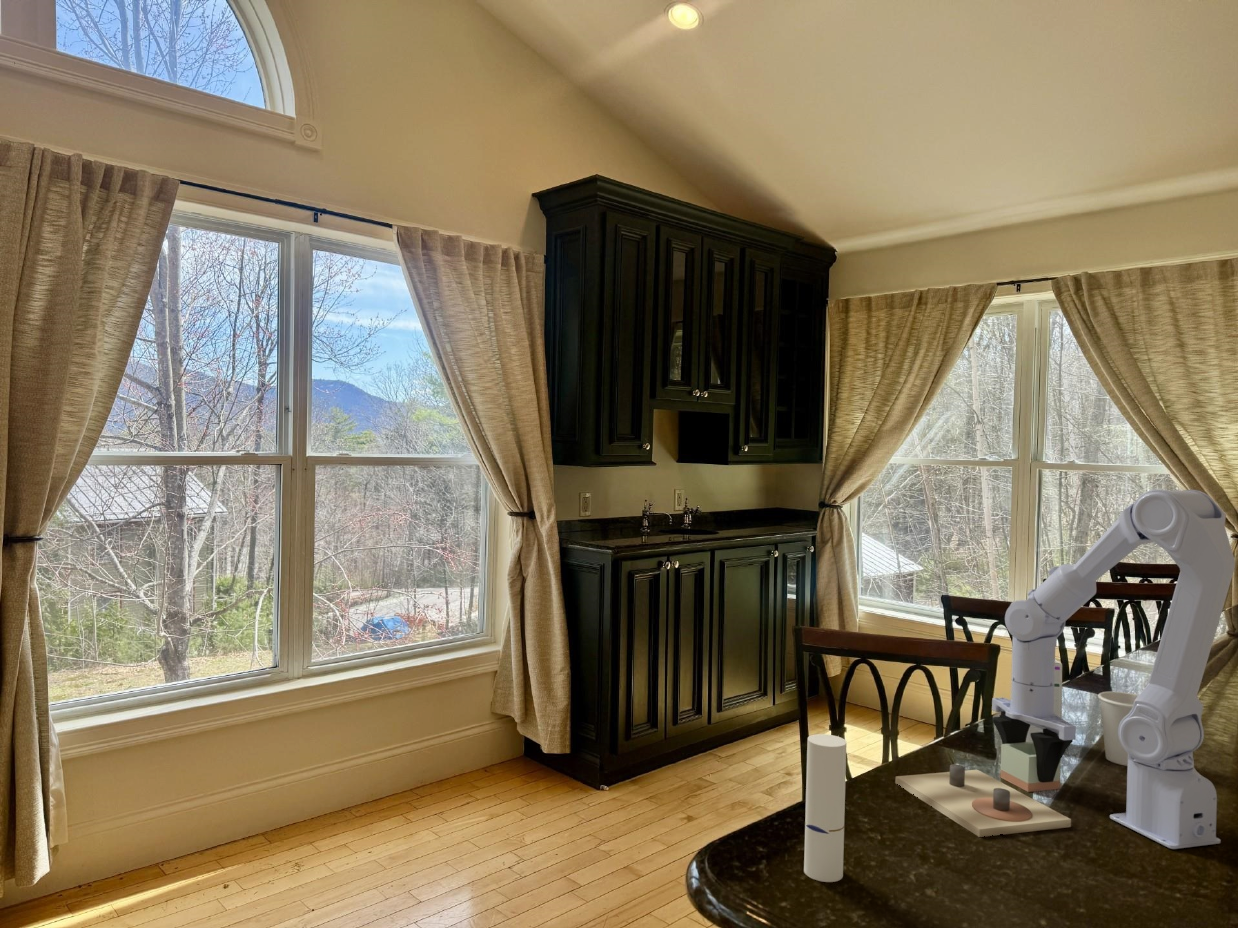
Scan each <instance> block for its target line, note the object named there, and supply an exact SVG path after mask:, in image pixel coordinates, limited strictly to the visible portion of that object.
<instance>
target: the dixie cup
mask: <svg viewBox="0 0 1238 928" xmlns="http://www.w3.org/2000/svg"><path fill="white" fill-rule="evenodd" d="M1138 696H1139V694H1137V693H1132V692H1126V691H1125V692H1124V691H1123V692H1122V691H1102V692H1099V693H1098V695H1097V697H1098V699H1099V706H1100V707H1099V708H1100V715H1101V725H1102V732H1103V733H1102V734H1103V741H1104V743H1103V744H1104V751H1105V759H1106V760H1108V761H1110V762H1111V763H1114V764H1118V765H1121V766H1126V767H1128V753H1127V752H1126V751H1125V749H1124V748H1123V746H1122V744H1121V742H1120V740H1119V735H1118V728H1119V724H1120V722H1121V720H1122V719H1123V718H1124V717H1125V716H1126V715H1128V714H1129V713H1130V711H1131V710H1132V708H1133V704H1134V701H1135V699H1136V698H1137V697H1138Z"/></svg>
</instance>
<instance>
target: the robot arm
mask: <svg viewBox="0 0 1238 928" xmlns="http://www.w3.org/2000/svg"><path fill="white" fill-rule="evenodd" d="M1226 517H1227V515H1226V513H1225V512H1224V510H1223V509H1222V508H1221V507H1220V506H1219V505H1218V504H1217V503H1216V502H1215V500H1214V499H1213V498H1212V497H1211V496H1210V495H1208V494H1207V493H1205V492H1203V491H1200V490H1197V489H1183V490H1166V489H1150V490H1148V491H1145V492H1144V493H1142V494H1141V495H1139V496H1138V497H1137V499H1136V500H1135V501H1134V503H1130V504H1129V505H1128V506H1126V507H1125V508H1124V509H1123V510H1122V511H1121V513H1120V515H1119V516H1118V517H1117V520H1115V521H1114V522H1113V524H1112V525H1111V526H1110V527H1109V528H1108V529H1107V530H1106V531H1105V532H1104V533H1103V534H1102V535H1101V536H1100V538H1098V539H1097V541H1096V542H1094V544H1093V545H1092V546H1091V547H1090V548H1089V549H1088V550H1087V551H1086V552H1085V553H1084V554H1083V556H1081V558H1080V559H1079V560H1077V562H1076V563H1075V564H1069V563H1063V564H1061V565H1059V566H1058V565H1057V566H1052V567H1051V568H1050V569H1049V570H1048V572H1047V573H1048V575H1049V576H1048V577H1047V578H1046V579H1045V580H1044V581H1043V582H1042V583H1041V584H1040V585H1039V586H1038V587H1037V588H1033V589H1030V590H1029V591H1028V592H1027V595H1028V596H1027V599H1019V600H1018V599H1017V600H1015V601H1012V602H1011V603H1010V604H1009V606H1008V608H1007V609H1006V611H1005V615H1004V623H1005V626H1006V629H1007V631H1008V632H1009V634H1010V635H1011V637H1012V641H1011V642H1012V647H1011V648H1012V649H1011V650H1012V651H1011V682H1010V684H1011V685H1010V688H1011V689H1010V699H1008V698H1005V697H992V700H991V705H992V706H991V711H994V712H995V713H1000V714H999V716H993V718H992V723H993V725H994V727H995V728H996V730H997V732H998V734H999V736H1000V741H1001V742H1002V743H1001V744H1011V743H1024V742H1026V737H1027V734H1028V730H1029V727H1030V725H1033V726H1035V727H1038V728H1040V729H1042V730H1043V733H1042V732H1036V733H1031V734H1030V736H1031V738H1032V741H1033V744H1034V747H1035V752H1036V758H1037V775H1038V780H1039V781H1040V782H1042V783H1044V782H1053V780H1054V777H1055V774H1056V771H1057V768H1058V765H1059V762H1060V760H1061V761H1062V758H1063V756H1064V754H1065V753H1066V751H1067V750H1068V748H1069V747H1070V746H1071V744H1072V743H1073V741H1074V740H1076V733H1077V732H1076V731H1077V730H1076V729H1077V727H1076V726H1077V725H1074V724H1072V723H1070V722H1069V721H1066V720H1065V719H1064V718H1063V717H1062V718H1061V717H1059V716H1058V715H1056V714H1055V713H1054V679H1055V659H1056V647H1057V640H1058V638H1059V636H1061V634H1062V633H1063V631H1064V630H1065V627H1066V621H1067V620H1068V619H1070V618H1071V617H1072V615H1074V614H1075V613H1076V612H1077V611H1078V610H1079V609H1081V608H1082V607H1083V606H1084V605H1086V603H1087V602H1088V601H1089V600H1090V599H1092V598H1093V597H1094V596H1095V595H1096V594H1097V580H1099V579H1101V577H1103V576H1104V575H1105V574H1106V573H1107V572H1109V571H1110V570H1111V569H1112V568H1114V567H1115V566H1116V565H1117V564H1119V563H1120V562H1121V561H1123V559H1124V558H1126V557H1127V556H1129V554H1131V553H1132V552H1133V551H1134V550H1135V549H1137V548H1138V547H1139V546H1141V545H1145V544H1151V543H1154V544H1156V545H1157V546H1159V547H1160V548H1161V549H1162V550H1164V551H1165V552H1166V553H1167V554H1168V555H1169V556H1170V558H1171V560H1173V561H1174V563H1175V565H1177V567H1178V568H1179V575H1178V579H1177V581H1176V585H1175V588H1174V591H1173V595H1172V600H1171V603H1170V605H1169V609H1168V613H1167V617H1166V620H1165V623H1164V627H1163V630H1162V634H1161V637H1160V642H1159V646H1158V647H1157V652H1156V655H1155V660H1154V663H1153V666H1152V670H1151V673H1150V677H1149V680H1148V683H1147V685H1146V686H1145V687H1144V688H1143V689H1142V691H1141V692H1140V693H1139V694H1138V695H1139V696H1138V697H1137V698H1136V699H1135V701H1134V704H1133V708H1132V710H1131V711H1130V713H1129V714H1128V715H1126V716H1125V717H1124V718H1123V719H1122V720H1121V722H1120V724H1119V728H1118V735H1119V740H1120V742H1121V744H1122V746H1123V748H1124V749H1125V751H1126V752H1127V753H1128V766H1127V768H1126V769H1127V773H1126V807H1125V808H1126V809H1125V810H1126V811H1125V812H1121V813H1120V812H1119V813H1113V814H1110V815H1109V818H1110V819H1111V820H1113V821H1115V822H1116V823H1119V824H1121V825H1122V826H1125V827H1127V828H1128V829H1131V830H1133V832H1134V831H1135V832H1137V833H1138V834H1141V835H1142V836H1145V837H1146V838H1148V839H1150V840H1152V841H1155V842H1156V843H1158V844H1161V845H1162V846H1164V847H1167V848H1168V849H1171V850H1178V849H1184V848H1185V849H1186V848H1193V847H1194V848H1195V847H1201V846H1208V845H1210V846H1211V845H1216V844H1221V843H1222V842H1221V839H1220V838H1219V837H1217V813H1218V812H1217V810H1218V809H1217V806H1218V796H1217V790H1216V788H1215V785H1214V784H1213V782H1212V781H1211V780H1209V779H1208V778H1207V777H1204V776H1203V775H1201V774H1200V773H1199V772H1198V771H1197V770H1196V768H1195V764H1194V763H1195V761H1194V754H1193V753H1194V751H1196V750H1198V749H1199V748H1200V747H1201V745H1202V743H1203V741H1204V737H1205V736H1204V735H1205V731H1204V727H1203V724H1202V723H1203V722H1202V713H1203V710H1204V705H1203V703H1202V702H1201V700H1200V698H1199V697H1198V694H1199V690H1200V687H1201V684H1202V681H1203V680H1202V679H1203V677H1204V673H1205V670H1206V666H1207V662H1208V660H1209V657H1210V652H1211V649H1212V646H1213V643H1214V640H1215V636H1216V633H1217V630H1218V625H1219V622H1220V619H1221V616H1222V613H1223V610H1224V609H1223V608H1224V606H1225V603H1226V598H1227V595H1228V592H1229V588H1230V584H1231V582H1232V578H1233V576H1234V572H1235V567H1236V560H1235V557H1234V553H1233V549H1232V547H1231V546H1232V545H1231V543H1230V541H1229V540H1230V539H1229V536H1228V533H1227V529H1226V527H1225V526H1226V525H1225V524H1226V519H1227V518H1226Z"/></svg>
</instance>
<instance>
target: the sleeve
mask: <svg viewBox="0 0 1238 928" xmlns="http://www.w3.org/2000/svg"><path fill="white" fill-rule="evenodd" d="M1000 750H1001V751H1000V753H1001V754H1000V778H1001V779H1002V780H1004V781H1007V782H1009V783H1010V784H1012V785H1014V786H1016V787H1018V788H1019V789H1022V790H1024V791H1026V792H1028V793H1030V792H1039V791H1040V792H1041V791H1052V790H1060V789H1061V772H1062V771H1061V767H1062V766H1061V764H1062V763H1061V762H1062V759H1061V760H1060V762H1059V765H1058V768H1057V771H1056V774H1055V777H1054V780H1053V782H1044V783H1042V782H1040V781H1039V780H1038V775H1037V758H1036V752H1035V747H1034V744H1033V742H1024V743H1011V744H1003V743H1001V749H1000Z"/></svg>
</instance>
